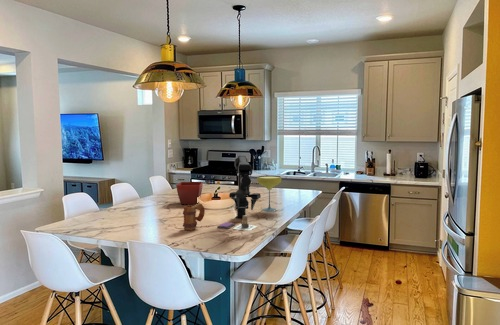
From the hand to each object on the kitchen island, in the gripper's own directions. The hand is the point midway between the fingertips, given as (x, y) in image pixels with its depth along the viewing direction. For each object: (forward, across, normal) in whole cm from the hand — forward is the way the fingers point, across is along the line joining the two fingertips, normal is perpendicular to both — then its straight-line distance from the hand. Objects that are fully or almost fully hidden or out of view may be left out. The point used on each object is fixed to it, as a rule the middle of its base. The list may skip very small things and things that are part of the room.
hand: (245, 209), depth 225 cm
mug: (+12, -28, -14) cm, 33 cm away
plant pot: (+11, -76, +55) cm, 95 cm away
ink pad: (+11, -12, -2) cm, 17 cm away
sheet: (+11, 0, 0) cm, 11 cm away
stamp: (+11, 0, 0) cm, 11 cm away
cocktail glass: (+11, -5, +54) cm, 56 cm away
